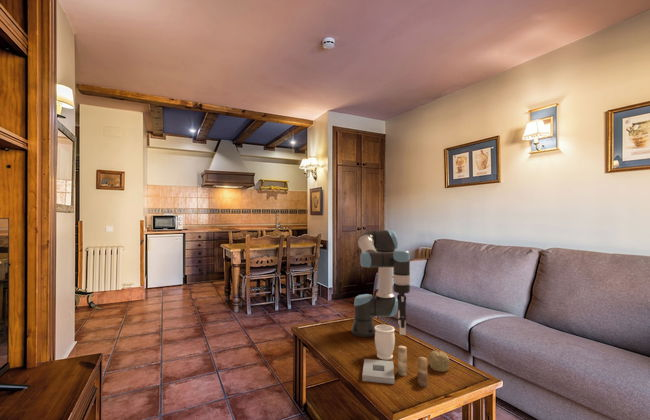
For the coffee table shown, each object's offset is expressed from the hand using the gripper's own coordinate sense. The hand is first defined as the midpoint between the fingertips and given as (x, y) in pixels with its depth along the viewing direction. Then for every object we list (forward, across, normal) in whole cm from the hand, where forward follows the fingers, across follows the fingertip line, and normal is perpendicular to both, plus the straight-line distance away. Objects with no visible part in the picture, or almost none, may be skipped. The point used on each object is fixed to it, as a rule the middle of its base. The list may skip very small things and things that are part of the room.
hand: (401, 329), depth 143 cm
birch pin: (+21, 0, 0) cm, 21 cm away
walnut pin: (+21, +8, +8) cm, 24 cm away
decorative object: (+21, -9, +18) cm, 29 cm away
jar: (+21, -16, -8) cm, 28 cm away
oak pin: (+21, +1, +9) cm, 23 cm away
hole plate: (+21, +2, -11) cm, 23 cm away
